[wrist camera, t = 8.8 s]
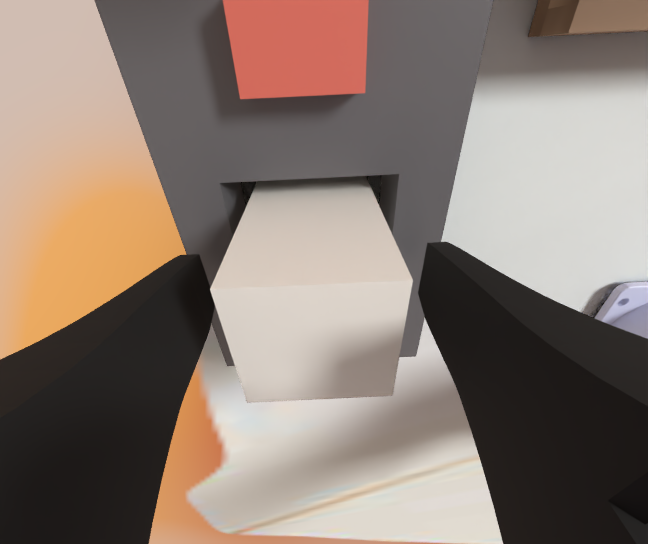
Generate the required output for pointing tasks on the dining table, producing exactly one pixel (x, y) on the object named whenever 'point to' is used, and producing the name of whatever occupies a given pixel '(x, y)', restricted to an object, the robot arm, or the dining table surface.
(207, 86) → the power strip
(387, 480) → the dining table surface
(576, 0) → the tray
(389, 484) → the dining table surface
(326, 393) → the white plug
